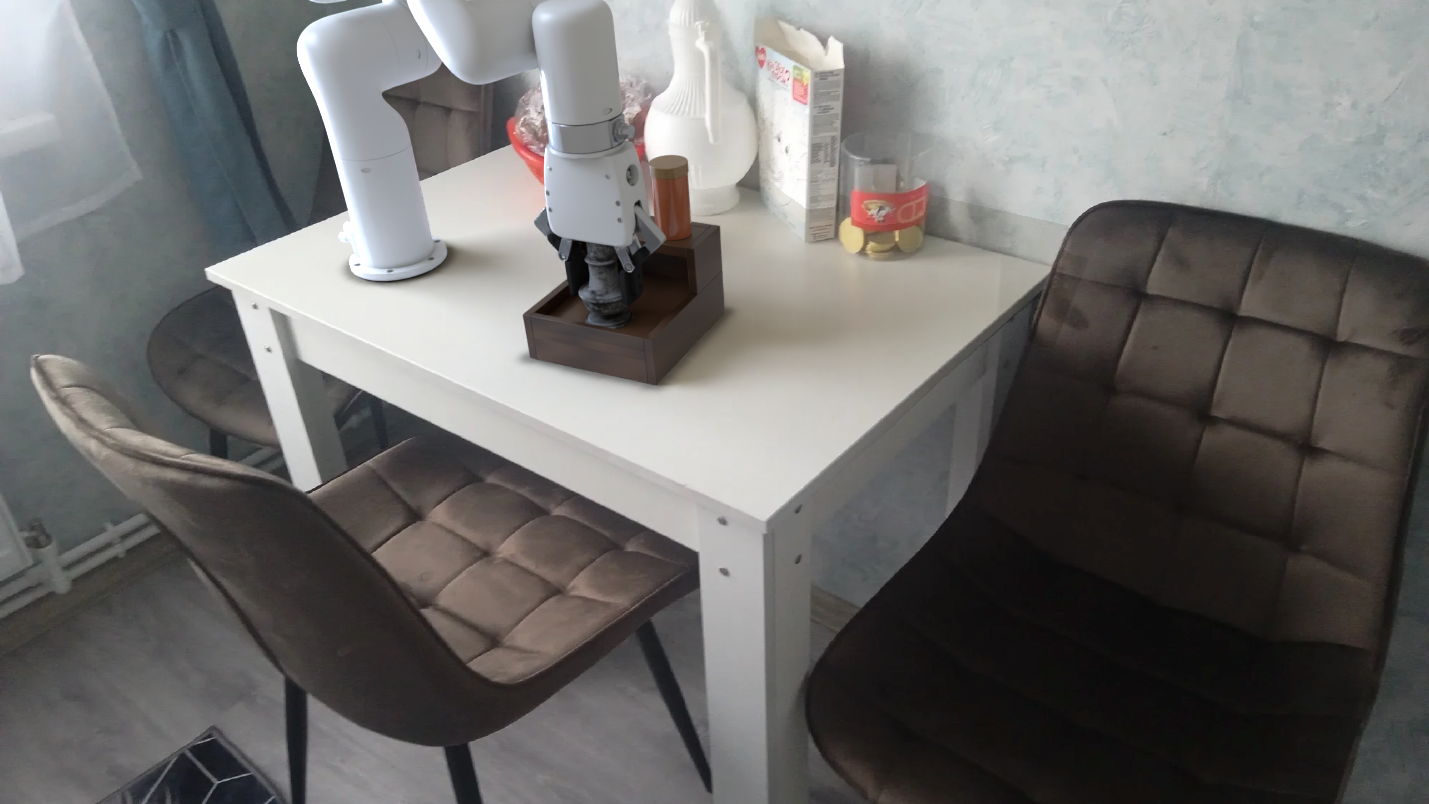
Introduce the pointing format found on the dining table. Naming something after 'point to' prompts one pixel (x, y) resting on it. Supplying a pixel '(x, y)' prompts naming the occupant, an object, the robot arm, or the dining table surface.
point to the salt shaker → (604, 289)
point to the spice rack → (638, 313)
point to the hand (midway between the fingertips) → (606, 293)
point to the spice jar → (671, 195)
